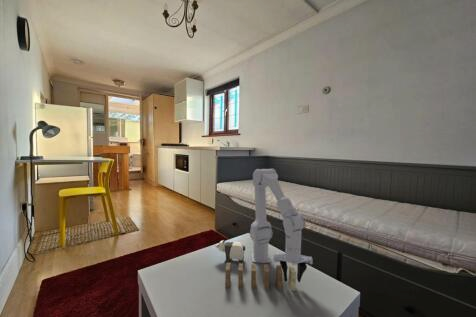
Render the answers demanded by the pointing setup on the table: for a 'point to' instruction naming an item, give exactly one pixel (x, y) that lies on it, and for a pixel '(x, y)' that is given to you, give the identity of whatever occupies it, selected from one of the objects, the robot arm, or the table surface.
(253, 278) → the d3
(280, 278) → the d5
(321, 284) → the table surface
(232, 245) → the giant panda
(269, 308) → the table surface
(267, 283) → the d4
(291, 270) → the maple tile
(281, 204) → the robot arm
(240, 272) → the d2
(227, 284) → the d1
